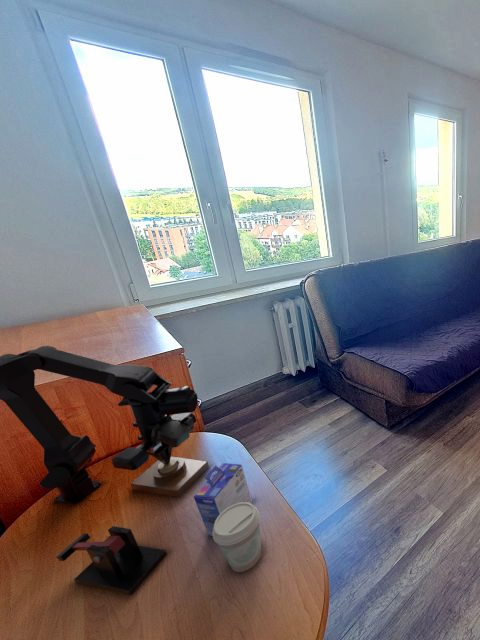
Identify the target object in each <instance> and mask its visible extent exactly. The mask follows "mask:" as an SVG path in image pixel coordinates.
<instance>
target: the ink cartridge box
mask: <svg viewBox="0 0 480 640" xmlns="http://www.w3.org/2000/svg"><path fill="white" fill-rule="evenodd" d="M204 478H205V480H206V482H205V483H204V484H203V486H201V488H200V489H199V490H198V491H197V492H196V493H195V494H194V496H193V499H194V501H195V504H196V507H197V509H198V512H199V514H200V517H201V519H202V522H203V524H204V527H205V529H206V533H207V535H208V536H212V537H213V527H214V523H215V521H216V519H217V517H218V516H219V515H220V514H221V513H222V512H223V511H224V510H225V509H226V508H228V507H230V506H232V505H234V504H237V503H240V502H248V503H251V504H252V503H253V499H252V496H251V491H250V489H249V486H248V482H247V478H246V474H245V471H244V468H243V464H240V463H239V464H238V463H229V462H228V463H227V462H223V463H221V464H220V465H219V466H217V465H214V467H213V468H212V469H211V470H210V471H209V472H208V473H207V474H206V475H205V476H204Z"/></svg>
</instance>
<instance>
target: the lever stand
mask: <svg viewBox="0 0 480 640" xmlns="http://www.w3.org/2000/svg"><path fill="white" fill-rule="evenodd" d="M107 531H108V534H109V536H120V537H121V538H122V540H123V541H124V542H125V545H124V546H123V547H122V548H121V549H120V550H119V551H118V552H117V553H116V554H113V552H112V550H111V548H106V547H101V546H96V545H91V546H90V547H89V548H87V549H86V550H85V551H86V552H87V553H88V556H89V558H90V559H91V561H92V562H91V563H89V565H88V566H86V567H85V568H84V569H83V570H82V571H81V572H80V573H79V574H78V575H77V576H76V577H75V578H74V579H73V580H74V582H75V584H78V585H83V586H87V587H92V588H97V589H102V590H105V591H111V592H116V593H121V594H125V595H129V596H132V595H133V594H134V592H135V591H136V590H137V589H138V588H139V587H140V586H141V585H142V583H143V582H144V581H145V580H146V579H147V578H148V577H149V576H150V574H152V572H153V571H154V570H155V569H156V567H158V565H159V564H160V563H161V562H162V561H163V559H164V558H165V557H167V555H168V552H167V550H166V549H161V548H155V547H150V546H144V545H140V544H138V542H137V540H136V538H135V536H134V533H133V531H132V529H131V528H127V527H121V526H115V525H112V526H111V527H110V528H108V530H107Z"/></svg>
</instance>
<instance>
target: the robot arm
mask: <svg viewBox="0 0 480 640" xmlns="http://www.w3.org/2000/svg"><path fill="white" fill-rule="evenodd" d="M36 370H40V371H44V372H49V373H52V374H56V375H60V376H64V377H68V378H72V379H76V380H81V381H85V382H89V383H93V384H98V385H100V386H104V387H105V388H106V389H107V390H108V391H109V392H110V393H112V394H113V395H117V396H119V397H122V399H121V401H120V402H118V403H117V406H118V407H124V406H129V407H130V411H131V412H132V415H133V418H134V420H135V421H134V422H132V427H133V428H138V431H139V433H140V434H139V435H138V436H137V440H138V441H141V442H142V443H141V444H139V445H138V446H137V447H131V446H128V447H126V448H125V449H123V450H122V451H120V452H119V453H118V454H116V455H115V456H113V458H112V459H111V464H112V465H113V468H114V469H121V470H125V471H126V470H127V471H136V470H138V469H140V467H142V466H143V465H144V464H146V463H147V462H148V460H149V458H150V456H151V457H153V458H154V459H156V460H157V461H158V460H159V461H160V462H162V463H163V464H166V465H167V464H168V463H170V458H171V457H172V451H173V448H178V447H180V446H181V445H182V443H184V442H186V440H188V439H189V438H190V433H191V431H193V430H194V429H195V426H194V425H195V424H196V423H197V417H196V415H195V414H194V413H193V412H195V411H196V409H197V407H198V403H199V402H198V401H199V400H198V394H197V392H195V390H194V389H191V388H190V385H184V386H180V387H172V388H171V386H172V382H170V381H168V380H167V379H166V378H165V377H163V376H161V375H160V374H159V373H157V372H156V371H155V369H154V368H152V367H150V366H146V365H139V364H132V363H131V364H130V363H129V364H120V365H119V364H113V363H109V362H105V361H101V360H98V359H94V358H90V357H86V356H83V355H78V354H75V353H71V352H68V351H64V350H60V349H58V348H56V347H55V346H53V345H42V346H39V347H37V348H34V349H29V350H27V351H23V352H20V353H18V354H15V353H4V354H1V355H0V401H2V402H4V403H5V405H6V406H7V407H8V408H9V409H10V411H11V412H12V413H13V414H14V415H15V416H16V418H17V419H18V420H19V421H20V423H22V424H23V426H24V427H25V429H27V430H28V432H29V434H31V436H33V438H34V439H35V440H36V441H37V443H39V445H40V446H41V447H42V449H43V464H44V467H45V468H46V470H47V474H46V475H45V476H44V477H43V478H42V479H41V481H40V482H39V483H38V484H39V485H40V486H41V487H42V488H43V489H45V490H49V489H50V490H51V489H57V490H58V492H59V495H57V496H56V497H55V498H54V499H53V501H55V502H58V503H62V504H63V503H64V504H70V505H76V504H78V503H79V502H81V500H83V499H84V498H85V497H87V496H88V495H90V494H91V493H92V492H93V491H95V490H96V489H97V488H98V487H100V486H102V482H101V481H95V480H92V478H91V477H90V474H89V472H88V470H87V468H86V467H87V466H88V465H89V464H90V463H91V462H92V460H93V457H94V456H95V454H96V452H97V451H96V446H97V445H96V444H94V443H93V442H92V441H91V439H90V437H89V436H88V435H87V434H86V435H82V436H78V435H74V434H72V433H70V431H69V430H68V429H67V427H66V426H65V424H64V423H63V422H62V421H61V420H60V418H59V417H58V416H57V414H56V413H55V412H54V410H53V409H52V408H51V407H50V406H49V404H48V403H47V402H46V400H45V399H44V398H43V397H42V395H41V394H40V393H39V391H38V390H37V389H36V387H35V382H36V373H35V371H36ZM154 386H156V387H155V388H154V389H153V390H152V391H149V390H151V388H152V387H154Z"/></svg>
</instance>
